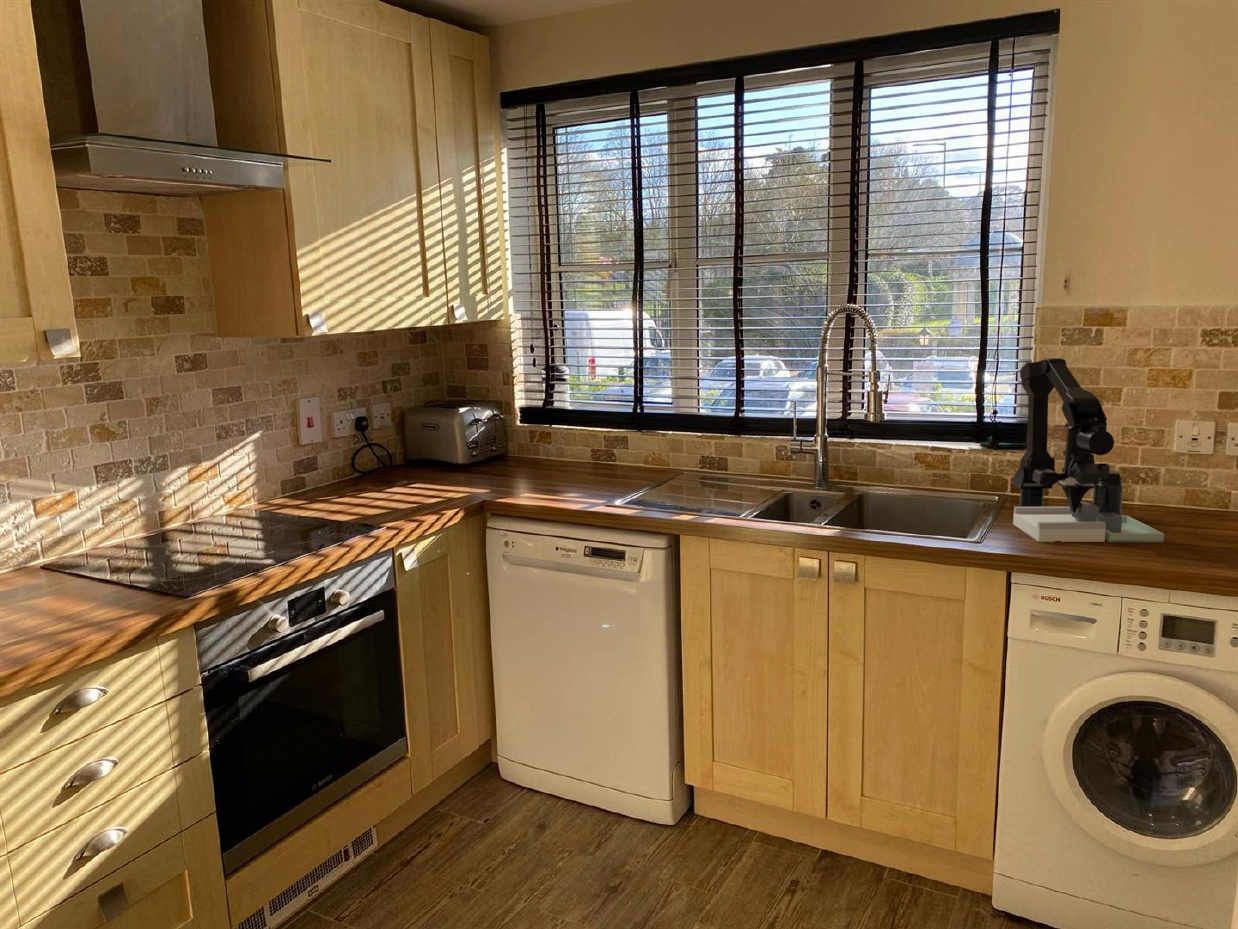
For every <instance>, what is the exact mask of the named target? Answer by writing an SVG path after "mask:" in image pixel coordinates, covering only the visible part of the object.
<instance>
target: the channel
mask: <svg viewBox="0 0 1238 929" xmlns="http://www.w3.org/2000/svg"><path fill="white" fill-rule="evenodd" d="M1072 513H1073V512H1072V511H1071V508H1070V506H1043V507H1015V506H1013V518H1012V524H1013V526H1014V527H1015V526H1016V528H1018V529H1020V530H1021V531H1022V532H1024V533H1026V535H1028V536H1030V537H1031V538H1032V539H1034V541H1036V542H1038V543H1039V542H1040V543H1043V542H1044V543H1046V542H1049V543H1056V542H1055V541H1061V542H1062V543H1063V542H1067V543H1069V542H1070V543H1072V542H1073V543H1074V542H1076V543H1078V542H1079V543H1080V542H1083V543H1085V542H1086V543H1087V542H1091V543H1092V542H1093V543H1094V542H1095V543H1097V542H1099V543H1100V542H1101V543H1102V542H1103V543H1104V542H1105V541H1106V540H1105V530H1106V523H1105V522H1087V521H1081V520H1078V519H1076V518H1074V517H1072ZM1061 542H1060V543H1061Z"/></svg>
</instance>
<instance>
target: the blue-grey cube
mask: <svg viewBox="0 0 1238 929" xmlns="http://www.w3.org/2000/svg"><path fill="white" fill-rule="evenodd" d="M1099 508H1100V507H1099V506H1097V505H1095V504H1093V503H1092V502H1086V501H1082V500H1081V502H1080V504H1079V506H1078V508H1077V510H1076V512H1075V513H1072V517H1074V518H1076V519H1078V520H1081V521H1087V522H1096V518H1097V515H1098V511H1099Z"/></svg>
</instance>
